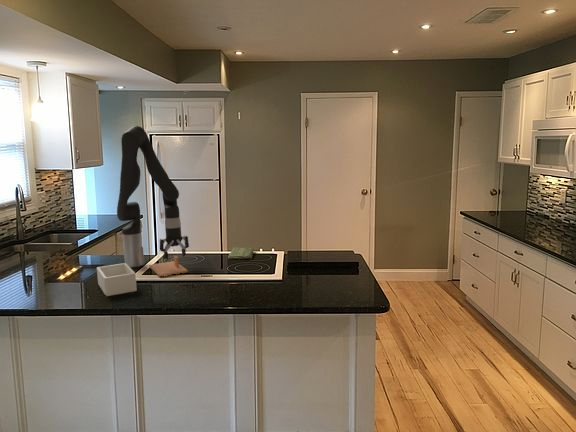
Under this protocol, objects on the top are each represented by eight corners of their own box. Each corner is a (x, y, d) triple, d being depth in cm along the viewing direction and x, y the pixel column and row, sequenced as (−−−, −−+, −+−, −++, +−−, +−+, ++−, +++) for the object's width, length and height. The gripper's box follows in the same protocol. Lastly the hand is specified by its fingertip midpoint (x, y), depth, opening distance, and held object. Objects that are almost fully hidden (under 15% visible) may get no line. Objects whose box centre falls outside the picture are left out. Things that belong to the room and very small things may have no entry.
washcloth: (227, 260, 264) (226, 254, 263) (232, 252, 281) (232, 246, 281) (251, 260, 263) (251, 254, 262) (255, 251, 280) (255, 246, 280)
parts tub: (127, 279, 234) (125, 262, 232) (136, 290, 217) (135, 273, 215) (98, 284, 228) (96, 267, 226) (105, 296, 210) (104, 278, 209)
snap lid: (175, 264, 258) (174, 251, 257) (187, 274, 241) (186, 260, 239) (149, 268, 252) (148, 255, 251) (160, 278, 234) (159, 264, 233)
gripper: (184, 223, 251) (186, 253, 254) (156, 226, 244) (159, 258, 247) (189, 225, 245) (191, 257, 248) (161, 229, 238) (163, 261, 241)
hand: (175, 257), depth 248 cm, fingers open, 8 cm apart
